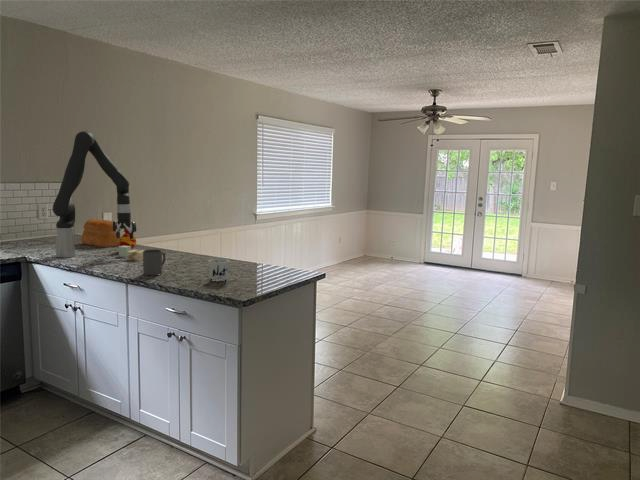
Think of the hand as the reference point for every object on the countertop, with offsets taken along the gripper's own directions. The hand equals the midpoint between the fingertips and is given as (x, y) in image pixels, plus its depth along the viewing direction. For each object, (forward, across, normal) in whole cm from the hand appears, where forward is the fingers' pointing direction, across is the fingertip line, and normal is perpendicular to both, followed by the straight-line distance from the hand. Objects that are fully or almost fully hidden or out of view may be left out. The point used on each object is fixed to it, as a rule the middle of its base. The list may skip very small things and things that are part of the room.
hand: (125, 238), depth 295 cm
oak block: (+11, +11, -5) cm, 16 cm away
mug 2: (+12, +76, -37) cm, 85 cm away
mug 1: (+12, +41, -35) cm, 55 cm away
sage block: (+11, 0, 0) cm, 11 cm away
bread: (+10, -39, +31) cm, 51 cm away
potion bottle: (+11, -8, +14) cm, 19 cm away
